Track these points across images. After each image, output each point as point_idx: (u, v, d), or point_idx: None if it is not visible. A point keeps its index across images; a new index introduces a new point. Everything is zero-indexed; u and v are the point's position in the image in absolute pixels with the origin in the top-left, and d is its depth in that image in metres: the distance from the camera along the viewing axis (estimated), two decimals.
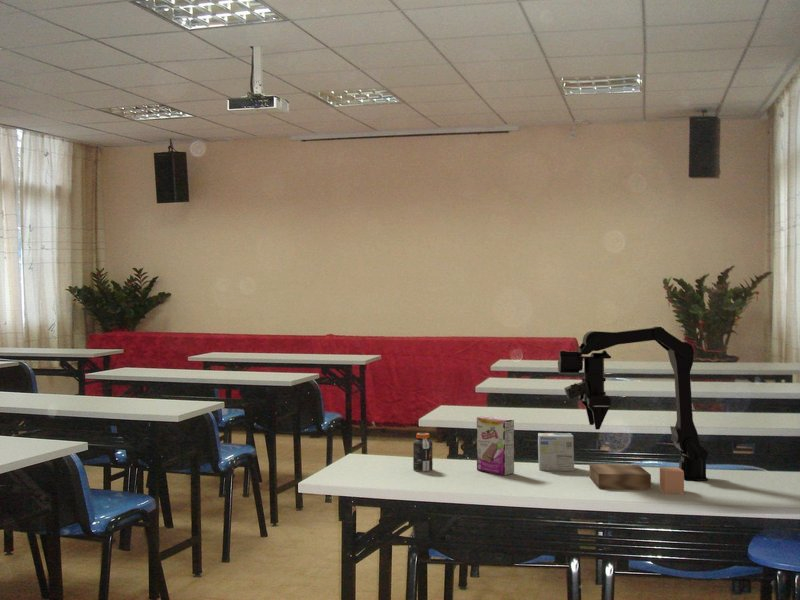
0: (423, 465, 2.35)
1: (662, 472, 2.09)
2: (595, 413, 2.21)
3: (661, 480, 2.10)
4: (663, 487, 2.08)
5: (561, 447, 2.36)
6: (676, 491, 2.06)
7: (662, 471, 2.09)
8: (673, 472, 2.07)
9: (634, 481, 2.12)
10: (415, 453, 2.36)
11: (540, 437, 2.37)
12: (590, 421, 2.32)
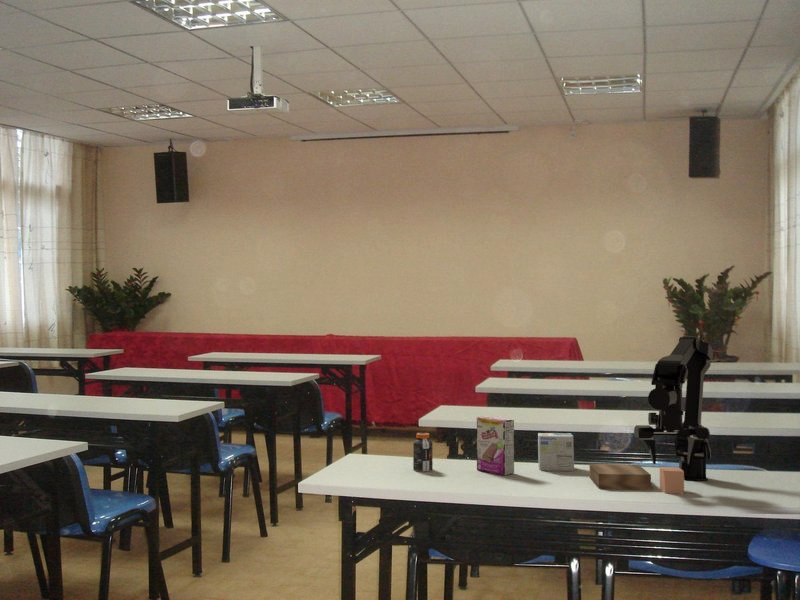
0: (423, 465, 2.35)
1: (662, 472, 2.09)
2: (647, 445, 2.11)
3: (661, 480, 2.10)
4: (663, 487, 2.08)
5: (561, 447, 2.36)
6: (676, 491, 2.06)
7: (662, 471, 2.09)
8: (673, 472, 2.07)
9: (634, 481, 2.12)
10: (415, 453, 2.36)
11: (540, 437, 2.37)
12: (687, 460, 2.09)
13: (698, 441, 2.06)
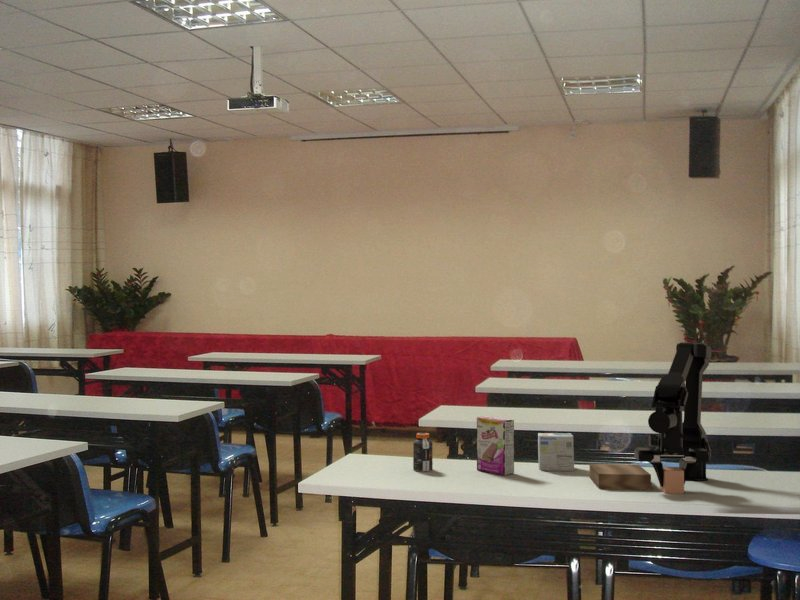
0: (423, 465, 2.35)
1: None
2: (654, 468, 2.10)
3: None
4: (663, 487, 2.08)
5: (561, 447, 2.36)
6: (676, 491, 2.06)
7: None
8: (673, 472, 2.07)
9: (634, 481, 2.12)
10: (415, 453, 2.36)
11: (540, 437, 2.37)
12: None
13: (691, 464, 2.06)
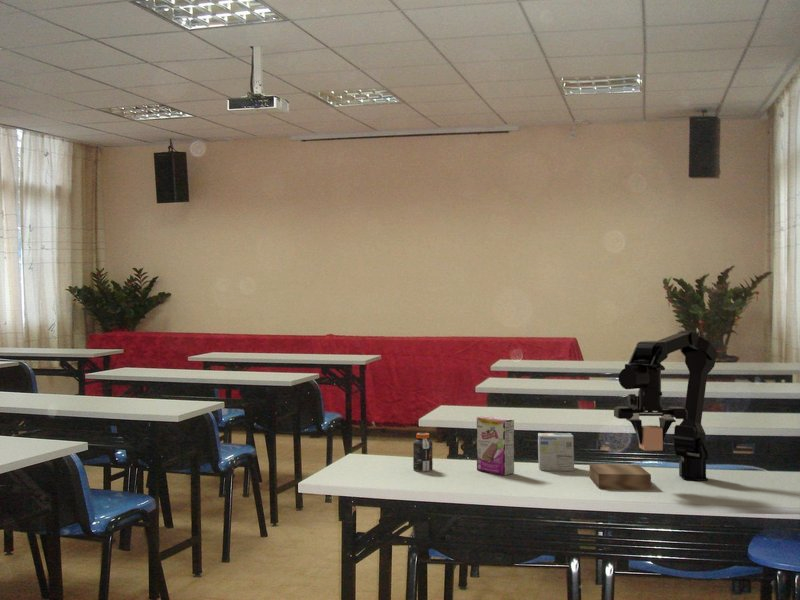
0: (423, 465, 2.35)
1: None
2: (633, 426, 2.14)
3: None
4: (642, 444, 2.12)
5: (561, 447, 2.36)
6: (655, 448, 2.10)
7: None
8: (652, 429, 2.10)
9: (634, 481, 2.12)
10: (415, 453, 2.36)
11: (540, 437, 2.37)
12: None
13: (669, 421, 2.10)
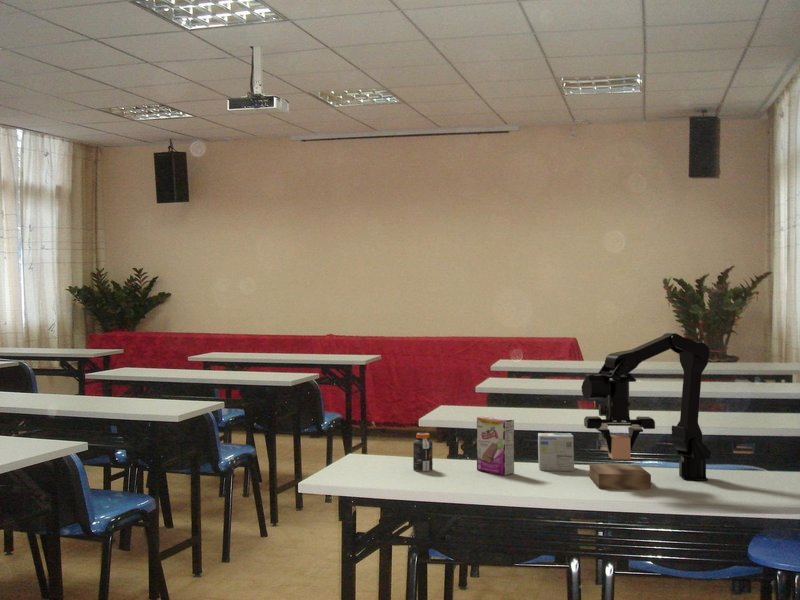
0: (423, 465, 2.35)
1: (610, 439, 2.19)
2: (603, 435, 2.20)
3: None
4: (611, 453, 2.18)
5: (561, 447, 2.36)
6: (623, 457, 2.16)
7: (610, 438, 2.19)
8: (620, 439, 2.16)
9: (634, 481, 2.12)
10: (415, 453, 2.36)
11: (540, 437, 2.37)
12: None
13: (637, 431, 2.16)
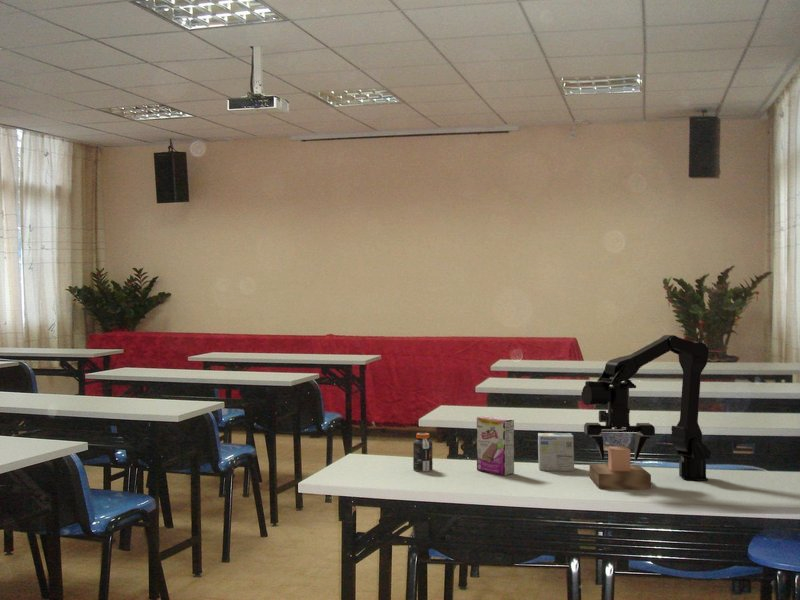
0: (423, 465, 2.35)
1: (610, 451, 2.19)
2: (596, 442, 2.20)
3: (609, 458, 2.20)
4: (611, 465, 2.18)
5: (561, 447, 2.36)
6: (623, 468, 2.16)
7: (610, 450, 2.19)
8: (620, 450, 2.16)
9: (634, 481, 2.12)
10: (415, 453, 2.36)
11: (540, 437, 2.37)
12: (634, 455, 2.19)
13: (644, 438, 2.16)
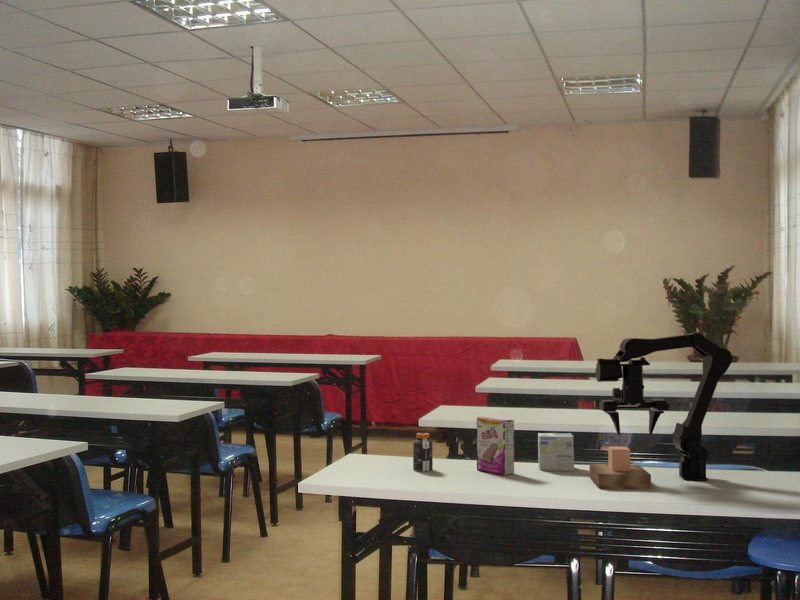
0: (423, 465, 2.35)
1: (610, 451, 2.19)
2: (611, 418, 2.27)
3: (609, 458, 2.20)
4: (611, 465, 2.18)
5: (561, 447, 2.36)
6: (623, 468, 2.16)
7: (610, 450, 2.19)
8: (620, 450, 2.16)
9: (634, 481, 2.12)
10: (415, 453, 2.36)
11: (540, 437, 2.37)
12: (649, 430, 2.26)
13: (658, 412, 2.23)
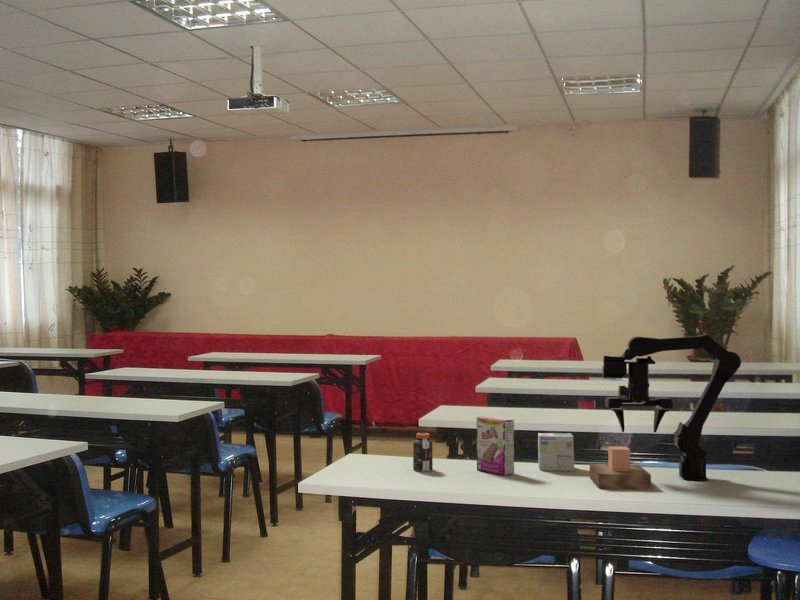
0: (423, 465, 2.35)
1: (610, 451, 2.19)
2: (616, 415, 2.30)
3: (609, 458, 2.20)
4: (611, 465, 2.18)
5: (561, 447, 2.36)
6: (623, 468, 2.16)
7: (610, 450, 2.19)
8: (620, 450, 2.16)
9: (634, 481, 2.12)
10: (415, 453, 2.36)
11: (540, 437, 2.37)
12: None
13: (663, 411, 2.25)
